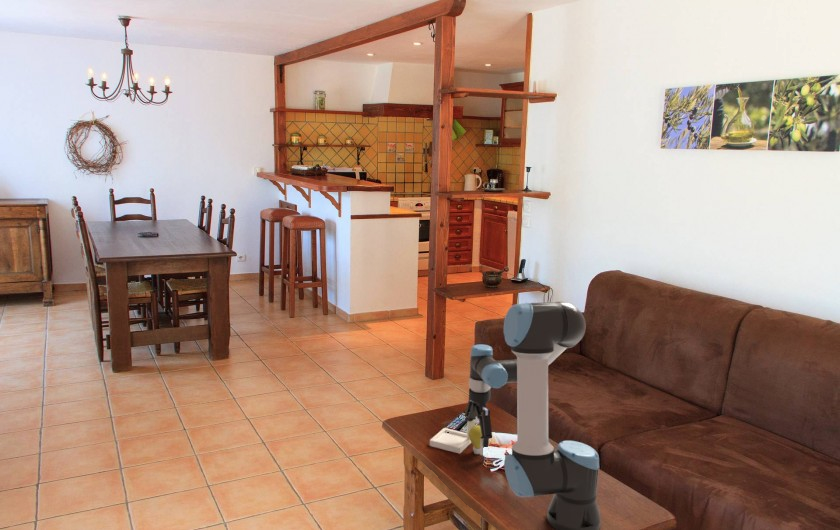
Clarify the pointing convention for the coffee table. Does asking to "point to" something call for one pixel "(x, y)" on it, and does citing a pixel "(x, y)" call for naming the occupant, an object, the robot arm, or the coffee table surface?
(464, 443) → the tray
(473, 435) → the light bulb
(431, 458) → the coffee table surface
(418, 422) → the coffee table surface
